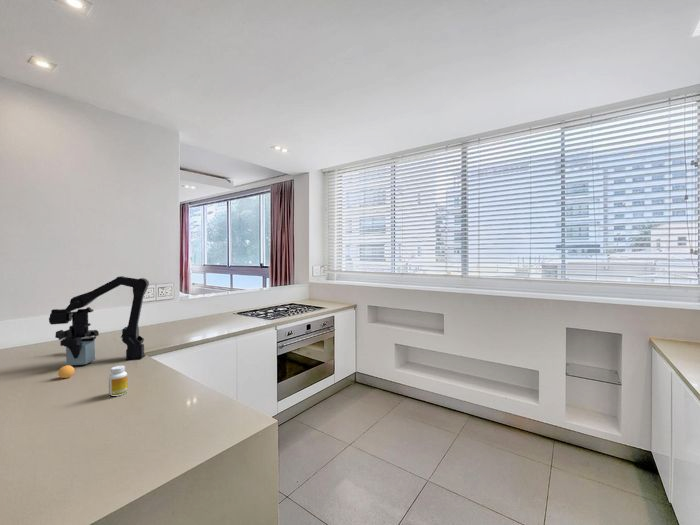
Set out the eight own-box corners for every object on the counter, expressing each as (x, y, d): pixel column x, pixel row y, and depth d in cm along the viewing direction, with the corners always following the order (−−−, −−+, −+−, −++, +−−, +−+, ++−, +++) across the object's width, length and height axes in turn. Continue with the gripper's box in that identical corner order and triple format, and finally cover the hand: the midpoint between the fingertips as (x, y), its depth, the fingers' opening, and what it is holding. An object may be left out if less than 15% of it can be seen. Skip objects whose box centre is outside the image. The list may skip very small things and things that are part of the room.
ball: (77, 374, 133) (77, 363, 133) (69, 379, 128) (69, 367, 128) (63, 376, 132) (63, 364, 132) (55, 380, 127) (55, 368, 127)
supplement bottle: (131, 392, 115) (130, 365, 115) (116, 398, 110) (115, 370, 110) (120, 390, 117) (120, 364, 117) (105, 396, 112) (104, 369, 111)
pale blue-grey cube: (95, 359, 151) (94, 340, 151) (85, 364, 144) (85, 345, 144) (76, 360, 149) (76, 342, 149) (66, 365, 142) (66, 346, 142)
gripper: (72, 319, 153) (73, 351, 154) (45, 327, 135) (46, 363, 135) (98, 318, 156) (99, 349, 156) (75, 326, 138) (76, 361, 138)
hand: (81, 355), depth 146 cm, fingers closed on pale blue-grey cube, 7 cm apart
